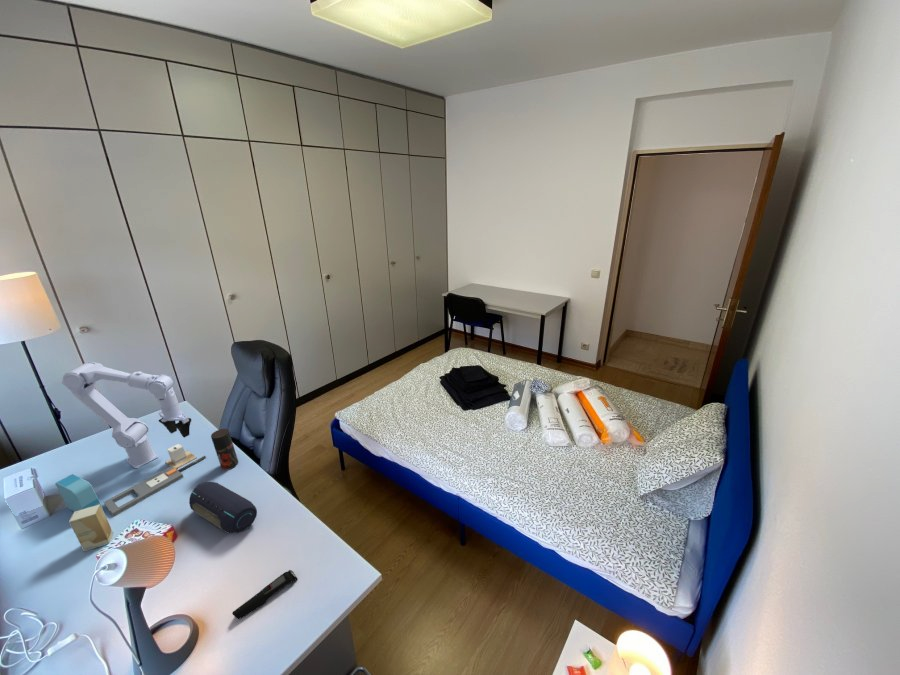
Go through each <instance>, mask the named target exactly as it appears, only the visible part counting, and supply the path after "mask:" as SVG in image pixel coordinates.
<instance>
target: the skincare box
mask: <svg viewBox="0 0 900 675" xmlns="http://www.w3.org/2000/svg"><path fill="white" fill-rule="evenodd" d="M101 505H102V504H101ZM101 505H100V504H99V505H96V506H93V507H88V508H85V509H82V510H79V511H75V512H74V511H73V513H72V515H71V516H70V519H69V521H68V523H69V525H70V526H71V529H72V531H73V533H74V534H75V537H76V539H77V540H78V543H79V544H80V546H81V548H82V550H83V552H86V551H90V550H92V549H93V550H94V549H95V548H99V547H102V546H105V545H108V544H110V542H111V540H112V539H113V536H114V531H113V529H112V526H111V525H110V522H109V520H108V518H107V516H106V514H105V512H104V510H103V506H102V507H101Z"/></svg>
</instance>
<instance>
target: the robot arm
mask: <svg viewBox="0 0 900 675" xmlns="http://www.w3.org/2000/svg"><path fill="white" fill-rule="evenodd" d="M100 380H103V381H112V382H119V383H126V384H127V385H128V387H131V388H136V389H142V390H147V391H149V392H150V393H151V394H152V395H153V396H154V398H155V399H156V400H157V402H158V405H159V409H160V411H159V412H158V416H159V417H161V418H160V419H158V422H159V424H162V426H164V427H165V428H166V430H168V431H169V433H170V434H174V433H176V432H178V431H179V433H180V435H181V436H182V437H183V438H184V439H185V438H187V437H188V436H190V425H191V423H192V418H191V417H188V416H186V414H185V413H184V412H183V410H181V409H182V408H181V407H180V404H179V401H178V398H177V396H176V392H175V390H174V387H173V386H174V385H175V379H174V378H173V377H172V376H171V375H169V374H167V373H161V374H159V375H158V374H150V373H145V372H143V371H140V370H138V371H134V372H133V373H130V372H127V371H121V370H118V369H115V368H111V367H106V366H104V365H103V364H102V363H100V362H95V361H86V362H84V363H83V364H81V365H79V366H77V367H76V368H74V369H72V370H70V371H68V372H66V373H65V374H64V375H63V376H62V382H61V384H62V385H63V386H64V387H66V388H67V389H68V390H69V391H71V394H72V395H73V396H74V397H75V398H76V399H78V400H79V401H80V402H81V403H82V404H84V406H86V407H87V408H88V409H89V410H90V411H92V413H94V414H95V415H96V416H98V417H99V418H100V419H101V420H102V421H104V422H105V423H106V424H108V426H110V428H111V429H112V431H111V432H112V433H111V438H113V439H114V440H115V442H116V445H118V446H119V447H121V448H123V449H125V452H126V454H127V456H128V458H127V459H126V461H127V463H129V465H131V467H133V468H134V469H138V468H140V467H142V466H145V465H147V464H148V463H151V462H152V461H154V460H156V459H158V458H159V455H158V454H156V453H155V452H154V450H153V448H152V446H151V443H150V441H149V439H148V437H149V436H148V433H149V429H150V428H149V426H148V424H146V423H145V422H143V421H140V420H139V419H138V418H136V417H128V416H127V415H125V414H124V413H123V412H122V411H121V410H120V409H118V408H117V407H116V406H115V405H114V404H113V403H112V402H111V401H109V400H108V399H107V398H106V397H105V396H104V395H103V394H101V393H100V392H99V391H98V390H97V389H96V383H97V382H98V381H100ZM176 422H177V423H176Z"/></svg>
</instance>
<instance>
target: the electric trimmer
mask: <svg viewBox="0 0 900 675" xmlns="http://www.w3.org/2000/svg"><path fill="white" fill-rule="evenodd" d="M297 580H298V577H297V575H296V574H295V572H294V571H293V570H291V569H289V570H287V571H285V572H283V573H282V574H280V575H279V576H277V578H274V579H273V581H271V582H270V583H269V584H268V585H266V586H265V587H263V588H262V589H261V590H260V591H259V592H257V593H256V594H254V595H253V596H252V597H251V598H250V599H248V600H247V601H245V602H244V603H243V604H241V605H240V606H239V607H237V608H236V609H235V610H234V611H232V613H231V614H232V615H233V617H235V618H236V619H237V620H241V619H242V618H244V617H246V616H248V615H249V614H250V613H253V612H254V611H255V610H258V609H259V608H261V607H262V606H264V605H265V604H266V603H267V602H268V600H269V599H270V598H271V597H272V596H274V595H275V594H277V593H278V592H280V591H281V590H283V589H284V588H285V587H286V586H288V585H289V584H291V583H296V581H297Z"/></svg>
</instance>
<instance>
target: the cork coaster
mask: <svg viewBox="0 0 900 675" xmlns="http://www.w3.org/2000/svg"><path fill="white" fill-rule="evenodd" d="M184 451H185V450H184ZM185 454H186V456H187V460H185V461H183V462H181V463H179V464H177V465H176V464H174V463H173V462H172V460H171V458H170V459H168V460H167V461H165V464H167V465H168V466H169V467H170V466H173V467H174V468H175V469H177V470H178V469H180V468H182V467H184V466H186V465H188V464H189V463H190V462H193V461H195V460H197V458H198V457H197V456H196V455H195V454H193V453H192V452H190V451H189V450H186V451H185Z"/></svg>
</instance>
